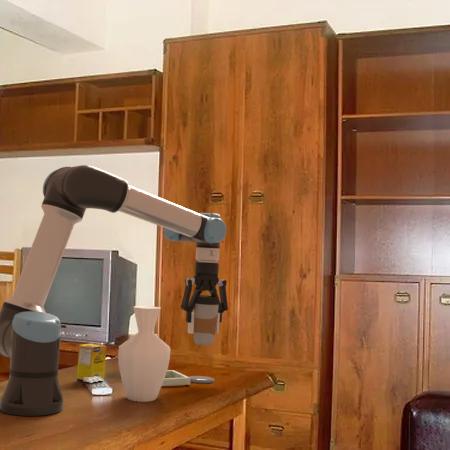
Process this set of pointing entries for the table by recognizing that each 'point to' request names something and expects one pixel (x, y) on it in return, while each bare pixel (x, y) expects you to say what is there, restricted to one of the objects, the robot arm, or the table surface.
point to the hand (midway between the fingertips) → (203, 332)
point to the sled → (173, 376)
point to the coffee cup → (205, 319)
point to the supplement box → (91, 361)
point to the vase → (143, 358)
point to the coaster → (201, 379)
